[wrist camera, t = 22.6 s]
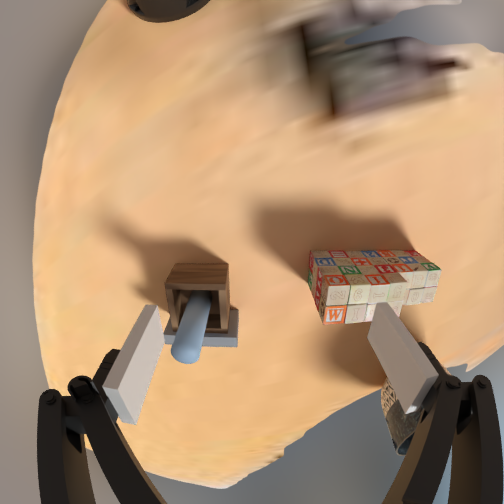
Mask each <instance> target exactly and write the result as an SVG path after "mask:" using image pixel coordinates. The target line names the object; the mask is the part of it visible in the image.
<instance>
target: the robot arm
mask: <svg viewBox="0 0 504 504" xmlns="http://www.w3.org/2000/svg"><path fill="white" fill-rule="evenodd" d="M209 1H210V0H127V3H128V6H129V8H130V9H131V10H132V11H133V12H134V13H135V15H136V16H138V17H139V18H141V19H143V20H145V21H149V22H156V23H161V22H170V21H174V20H178V19H181V18H184V17H186V16H189V15H191V14H193V13H195V12H196V11H198V10H199V9H201V8H202V7H204V6H205V5H206V4H207V3H208V2H209ZM367 339H368V340H369V342H370V344H371V346H372V348H373V350H374V352H375V354H376V356H377V358H378V360H379V361H380V363H381V365H382V367H383V369H384V371H385V373H386V375H387V377H388V379H389V381H390V383H391V385H392V387H393V389H394V391H395V393H396V396H397V398H398V400H399V402H400V404H401V406H402V408H403V410H404V412H405V414H407V413H411V412H414V411H417V410H418V408H419V407H420V405H421V404H422V405H423V407H424V409H423V411H422V412H421V414H420V415H419V416H418V418H417V419H416V421H418V420H419V422H418V425H417V428H416V430H415V433H414V436H413V438H412V441H411V444H410V446H409V449H408V451H407V453H406V456H405V458H404V461H403V463H402V465H401V467H400V469H399V471H398V474H397V476H396V478H395V480H394V482H393V484H392V486H391V488H390V490H389V491H388V493H387V495H386V497H385V499H384V501H383V502H382V504H432V503H433V500H434V498H435V495H436V492H437V490H438V487H439V484H440V482H441V479H442V476H443V473H444V470H445V467H446V463H447V460H448V457H449V453H450V449H451V446H452V465H451V480H450V491H449V498H448V504H502V503H503V457H502V444H501V435H500V427H499V421H498V414H497V409H496V403H495V398H494V394H493V389H492V385H491V382H490V380H489V379H488V378H487V377H485V376H483V375H477V376H475V377H474V379H473V381H472V382H461V381H460V380H459V379H458V378H457V377H455V376H452V375H448V374H447V373H446V372H445V370H444V369H443V367H442V366H441V364H440V363H439V361H438V360H437V359H436V357H435V356H434V354H432V351H431V350H430V349H429V347H428V346H426V345H425V344H424V343H422V342H416V341H415V339H414V338H413V336H412V335H411V334H410V332H409V331H408V329H407V328H406V327H405V325H404V324H403V323H402V321H401V320H400V319H399V317H398V316H397V314H396V313H395V312H394V311H393V309H392V308H391V307H390V305H389V304H388V303H387V302H380V303H376V307H375V311H374V315H373V318H372V322H371V326H370V329H369V333H368V336H367ZM164 343H165V339H164V334H163V330H162V325H161V320H160V315H159V310H158V305H145V307H144V308H143V310H142V312H141V314H140V316H139V317H138V319H137V321H136V323H135V324H134V326H133V328H132V330H131V332H130V334H129V335H128V337H127V339H126V341H125V343H124V345H123V347H122V349H121V350H117V349H112V350H111V351H110V352H108V353H107V354H106V355H105V357H104V359H103V361H102V363H101V364H100V366H99V368H98V370H97V372H96V374H95V375H94V377H93V379H92V380H91V378H89V377H87V376H77V377H75V378H73V379H72V380H71V381H70V382H69V384H68V391H69V393H70V395H71V396H62V395H61V394H60V393H59V391H57V390H55V389H49V390H46V391H45V392H43V393H42V395H41V396H40V399H39V410H38V427H37V462H38V479H39V489H40V498H41V504H96V502H95V498H94V494H93V490H92V485H91V480H90V474H89V469H88V463H87V456H86V449H85V441H84V434H87V437H88V439H89V442H90V444H91V447H92V449H93V451H94V453H95V456H96V458H97V460H98V462H99V464H100V466H101V469H102V471H103V473H104V474H105V477H106V479H107V480H108V482H109V484H110V486H111V488H112V490H113V492H114V493H115V495H116V497H117V498H118V500H119V502H120V503H121V504H167V503H166V501H165V500H164V499H163V497H162V496H161V495H160V493H159V492H158V491H157V489H156V488H155V486H154V485H153V483H152V482H151V480H150V479H149V477H148V476H147V474H146V473H145V471H144V470H143V468H142V467H141V465H140V463H139V462H138V460H137V458H136V457H135V455H134V453H133V452H132V450H131V448H130V446H129V445H128V443H127V441H126V439H125V438H124V436H123V434H122V432H121V430H120V428H119V426H118V424H117V423H116V421H117V418H118V416H119V418H120V419H121V421H122V422H124V423H129V424H134V425H136V424H137V421H138V418H139V415H140V412H141V408H142V405H143V402H144V399H145V396H146V393H147V390H148V388H149V385H150V382H151V379H152V376H153V373H154V370H155V367H156V365H157V362H158V359H159V356H160V354H161V351H162V348H163V345H164ZM419 418H420V419H419Z"/></svg>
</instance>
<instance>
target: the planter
mask: <svg viewBox="0 0 504 504" xmlns="http://www.w3.org/2000/svg"><path fill="white" fill-rule="evenodd" d="M440 364H441V363H440ZM441 366H442V367H443V369H444V370H445V372H446V373H447V374H448V375H451V374H450V373H449V372H448V370H447V369H446V368H445V367H444V366H443V365H442V364H441ZM381 403H382V409H383V413H384V415H385V419H386V422H387V425H388V428H389V432H390V435H391V438H392V441H393V445H394V448H395V451H396V453H397V455H400V456H406V453H407V451H408V449H409V446H410V444H411V441H412V438H413V436H414V433H415V430H416V428H417V425H418V422H419V420H418V421H416V419H417V418H418V416H419V415H420V414H421V412H422V411H423V409H424V407H423V405H422V404H421V405H420V407H419V408H418V410H417V411H414V412H411V413H407V414H405V412H404V410H403V408H402V406H401V404H400V402H399V400H398V398H397V396H396V393H395V391H394V389H393V387H392V385H391V383H390V381H389V379H388V377H387V378H386V380H385V382H384V384H383V387H382V391H381ZM419 419H420V418H419Z"/></svg>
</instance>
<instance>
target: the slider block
mask: <svg viewBox="0 0 504 504" xmlns="http://www.w3.org/2000/svg"><path fill="white" fill-rule="evenodd" d="M165 289H166V295H167V301H168V307H169V313H170V318H171V324H172V329H173V332H177V330H178V328H179V325H180V322H181V319H182V317H183V314H184V311H185V308H186V306H187V303H188V300H189V298H190V295H191V292H192V291H193V290H209V291H210V292H211V294H212V302H211V307H210V311H209V315H208V320H207V324H206V329H205V333H220V334H228V326H229V316H230V293H229V265H228V264H175V266H174V268H173V269H172V271H171V273H170V275H169V276H168V278H167V280H166V282H165Z"/></svg>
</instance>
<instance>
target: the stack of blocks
mask: <svg viewBox="0 0 504 504" xmlns="http://www.w3.org/2000/svg"><path fill="white" fill-rule="evenodd" d="M440 274H441V269H440V268H439V267H438V266H436V265H435V264H434V263H431V262H430V261H429V260H428V259H426V258H425V257H424V256H422V255H421V254H420V253H418V252H417V251H415V250H413V251H403V250H391V251H389V250H376V251H310V262H309V277H308V285H309V288H310V290H311V292H312V295H313V298H314V301H315V305H316V307H317V310H318V312H319V314H320V317H321V320H322V323H323V325H326V324H339V323H345V324H349V323H358V322H363V321H365V322H368V321H372V318H373V315H374V311H375V307H376V303H380V302H387V303H388V304H389V305H390V307H391V308H392V309H393V311H394V312H395V313H396V314H397V316H398V317H399V315H400V311H401V308H402V305H413V304H420V303H425V302H432V301H433V299H434V296H435V293H436V289H437V285H438V281H439V278H440Z"/></svg>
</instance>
